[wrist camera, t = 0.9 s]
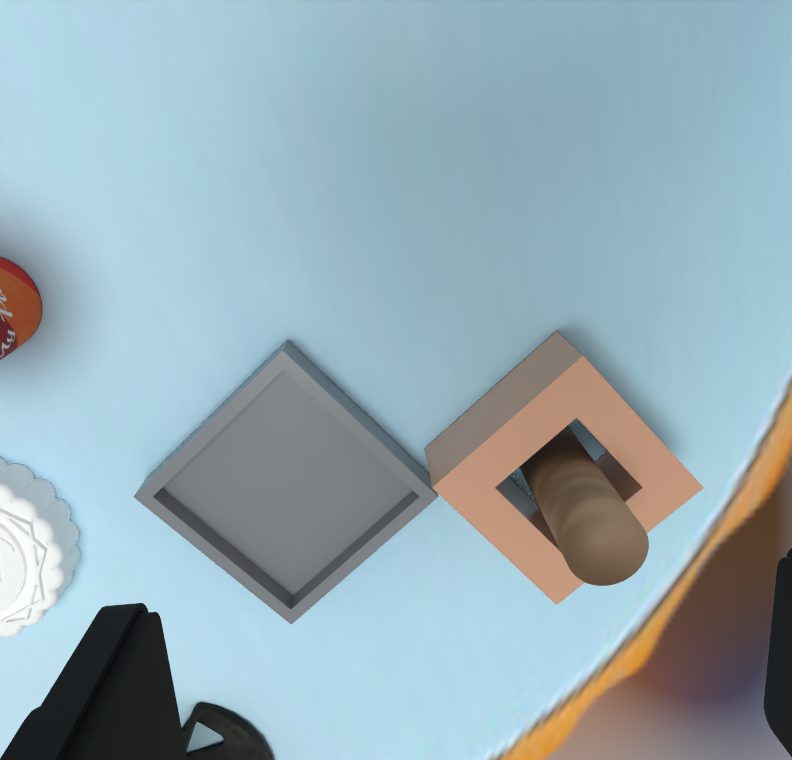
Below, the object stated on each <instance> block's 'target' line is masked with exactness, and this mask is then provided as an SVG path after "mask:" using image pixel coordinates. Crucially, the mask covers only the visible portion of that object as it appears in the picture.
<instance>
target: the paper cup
mask: <svg viewBox="0 0 792 760" xmlns="http://www.w3.org/2000/svg"><path fill="white" fill-rule="evenodd" d="M41 315H42V303H41V298H40V294H39V292H38V289H37V287H36V285H35V284H34V282H33V281H32V279H31V278H30V277H29V275H28V274H27V273H26V272H25V271H24V270H23V269H21V268H20V267H19V266H17V265H16V264H14V263H13V262H11V261H9V260H6V259H4V258H1V257H0V360H1V359H2V358H4V357H5V356H7V355H8V354H10V353H11V352H12V351H14V350H15V349H16V348H18V347H19V346H21V345H22V344H23V343H24V342H25V341H27V340H28V339H29V338H30V337H31V336H32V335H33V333H34V332H35V331H36V329H37V327H38V325H39V323H40V320H41Z"/></svg>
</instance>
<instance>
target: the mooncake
mask: <svg viewBox="0 0 792 760" xmlns="http://www.w3.org/2000/svg"><path fill="white" fill-rule="evenodd" d="M70 517H71V509H70V507H69V505H68V504H67V503H66V502H65V501H64V500H62V499H60V498H56V492H55V489H54V487H53V486H52V485H51V484H50V483H49V482H48V481H46V480H44V479H40V478H34V475H33V473H32V471H31V470H30V469H29V468H27V467H26V466H24V465H21V464H10V465H8V464H7V462H6V461H5V460H4V459H2V458H1V457H0V635H1V636H4V637H12V636H15V635H17V634H19V633H20V632H21V631H22V630H23V629H24V627H25V626H32V625H35V624H37V623H38V622H40V621H41V620H42V618H43V617H44V615H45V614H46V613H47V611H48V610H49V608H51V607H53V606H54V605H55V604H56V602H57V601H58V599H59V598H60V596H61V595H62V594H63V592H64V591H65V589H66V588H67V586H68V585H69V584H70V582H71V581H72V579H73V576H74V571H73V568H74V567H75V566H76V564H77V563H78V561H79V559H80V550H79V548H78V546H77V545H76V542H77V541H78V539H79V535H80V532H79V529H78V527H77V525H76V524H75V523H74V522H72V521H71V520H70Z"/></svg>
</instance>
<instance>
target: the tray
mask: <svg viewBox="0 0 792 760" xmlns="http://www.w3.org/2000/svg"><path fill="white" fill-rule="evenodd" d="M437 497H438V494H437V492H436V491H435V490H434V489H433V488H432V484H431V479H430V474H429V473H428V472H427V471H426V470H425V469H424V468H423V467H422V466H420V465H419V464H418V463H417V462H416V461H415V460H414V459H413V458H412V457H411V456H410V455H409V454H408V453H407V452H406V451H405V450H404V449H403V448H401V447H400V446H399V445H398V444H397V443H396V442H395V441H394V440H393V439H392V438H391V437H390V436H389V435H388V434H387V433H386V432H385V431H384V430H382V429H381V428H380V427H379V426H378V425H377V424H376V423H375V422H374V421H373V420H372V419H371V418H370V417H369V416H368V415H367V414H366V413H365V412H363V411H362V410H361V409H360V408H359V407H358V406H357V405H356V404H355V403H354V402H353V401H352V400H351V399H350V398H349V397H348V396H347V395H346V394H344V393H343V392H342V391H341V390H340V389H339V388H338V387H337V386H336V385H335V384H334V383H333V382H332V381H331V380H330V379H329V378H328V377H327V376H325V375H324V374H323V373H322V372H321V371H320V370H319V369H318V368H317V367H316V366H315V365H314V364H313V363H312V362H311V361H310V360H309V359H308V358H306V357H305V356H304V355H303V354H302V353H301V352H300V351H299V350H298V349H297V348H296V347H295V346H294V345H293V344H292V343H291V342H290V341H289V340H287V341H286V342H285V343H284V344H283V345H282V346H281V347H280V348H279V349H278V350H277V351H276V352H274V353H273V354H272V355H271V356H270V357H269V358H268V359H267V360H266V361H265V362H264V363H263V364H262V365H261V366H260V367H259V368H258V369H257V370H256V371H255V372H254V373H253V374H252V375H251V376H250V377H249V378H248V379H247V380H246V381H245V382H244V383H243V384H242V385H241V386H240V387H239V388H238V389H237V390H236V391H235V392H234V393H233V394H232V395H231V396H230V397H229V398H228V399H227V400H226V401H225V402H224V403H223V404H222V405H221V406H220V407H219V408H217V409H216V410H215V411H214V412H213V413H212V414H211V415H210V416H209V417H208V418H207V419H206V420H205V421H204V422H203V423H202V424H201V425H200V426H199V427H198V428H197V429H196V430H195V431H194V432H193V433H192V434H191V435H190V436H189V437H188V438H187V439H186V440H185V441H184V442H183V443H182V444H181V445H180V446H179V447H178V448H177V449H176V450H175V451H174V452H173V453H172V454H171V455H170V456H169V457H168V458H167V459H166V460H165V461H164V462H163V463H162V464H160V465H159V466H158V467H157V468H156V469H155V470H154V471H153V472H152V473H151V474H150V475H149V476H148V477H147V478H146V480H145V481H144V482H143V484H142V485H141V487H140V488H139V490H138V491H137V493H136V494H135V495H134V498H136V499H137V500H138V501H139V502H141V503H142V504H143V505H144V506H146V507H147V508H148V509H149V510H150V511H152V512H153V513H154V514H155V515H157V516H158V517H159V518H160V519H162V520H163V521H164V522H165V523H166V524H168V525H169V526H170V527H171V528H173V529H174V530H175V531H176V532H178V533H179V534H180V535H181V536H183V537H184V538H185V539H186V540H187V541H189V542H190V543H191V544H192V545H194V546H195V547H196V548H197V549H199V550H200V551H201V552H202V553H204V554H205V555H206V556H207V557H208V558H210V559H211V560H212V561H213V562H215V563H216V564H217V565H218V566H220V567H221V568H222V569H223V570H225V571H226V572H227V573H228V574H229V575H231V576H232V577H233V578H234V579H236V580H237V581H238V582H239V583H241V584H242V585H243V586H244V587H246V588H247V589H248V590H249V591H250V592H252V593H253V594H254V595H255V596H257V597H258V598H259V599H260V600H262V601H263V602H264V603H265V604H267V605H268V606H269V607H270V608H271V609H273V610H274V611H275V612H276V613H278V614H279V615H280V616H281V617H283V618H284V619H285V620H286V621H288V622H289V623H290V624H293V623H294V622H295V621H296V620H297V619H298V618H299V617H301V616H302V615H303V614H304V613H305V612H306V611H307V610H309V609H310V608H311V607H312V606H313V605H314V604H315V603H317V602H318V601H319V600H320V599H321V598H322V597H324V596H325V595H326V594H327V593H328V592H329V591H330V590H332V589H333V588H334V587H335V586H336V585H337V584H338V583H340V582H341V581H342V580H343V579H344V578H345V577H347V576H348V575H349V574H350V573H351V572H352V571H353V570H355V569H356V568H357V567H358V566H359V565H360V564H361V563H363V562H364V561H365V560H366V559H367V558H368V557H370V556H371V555H372V554H373V553H374V552H375V551H376V550H378V549H379V548H380V547H381V546H382V545H383V544H384V543H386V542H387V541H388V540H389V539H390V538H391V537H392V536H394V535H395V534H396V533H397V532H398V531H399V530H401V529H402V528H403V527H404V526H405V525H406V524H407V523H409V522H410V521H411V520H412V519H413V518H414V517H415V516H417V515H418V514H419V513H420V512H421V511H422V510H424V509H425V508H426V507H427V506H428V505H429V504H430V503H432V502H433V501H434V500H435V499H436V498H437Z"/></svg>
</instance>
